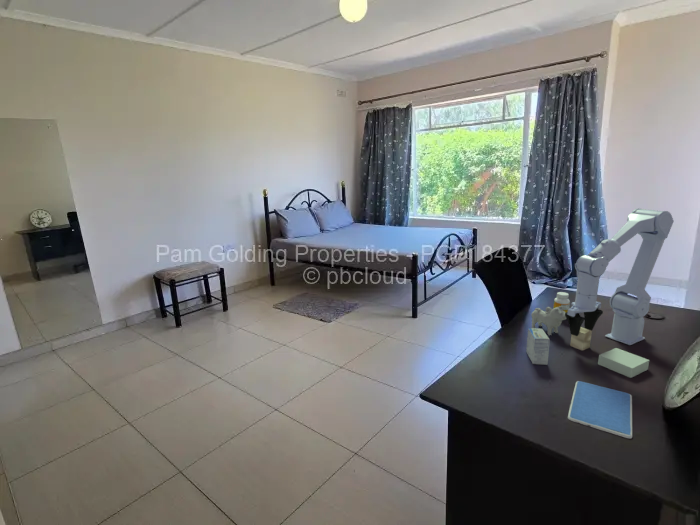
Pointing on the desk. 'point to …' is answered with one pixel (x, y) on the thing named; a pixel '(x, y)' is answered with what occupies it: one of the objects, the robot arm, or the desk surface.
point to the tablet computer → (602, 409)
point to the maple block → (581, 339)
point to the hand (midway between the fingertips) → (581, 332)
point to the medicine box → (537, 346)
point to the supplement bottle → (562, 301)
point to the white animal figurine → (548, 318)
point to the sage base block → (623, 362)
